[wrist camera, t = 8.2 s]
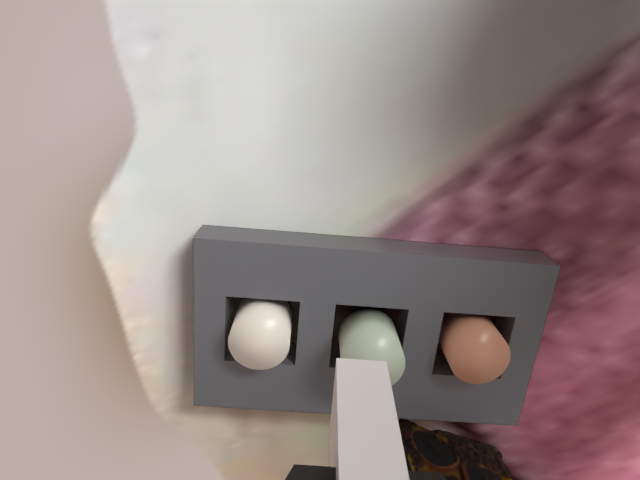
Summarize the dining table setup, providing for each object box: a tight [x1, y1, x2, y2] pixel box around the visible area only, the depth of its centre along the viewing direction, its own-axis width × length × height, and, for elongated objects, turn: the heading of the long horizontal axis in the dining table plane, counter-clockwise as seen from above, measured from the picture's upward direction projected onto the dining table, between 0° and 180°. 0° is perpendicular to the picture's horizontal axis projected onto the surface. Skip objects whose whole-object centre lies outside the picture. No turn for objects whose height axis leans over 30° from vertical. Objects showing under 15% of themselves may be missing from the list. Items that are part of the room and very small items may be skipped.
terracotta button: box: [438, 312, 511, 384], centre depth 36 cm, size 4×4×4 cm
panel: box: [193, 225, 561, 426], centre depth 37 cm, size 14×26×3 cm, turn 85°
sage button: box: [338, 309, 406, 386], centre depth 34 cm, size 4×4×4 cm
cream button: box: [228, 298, 292, 370], centre depth 35 cm, size 4×4×4 cm
